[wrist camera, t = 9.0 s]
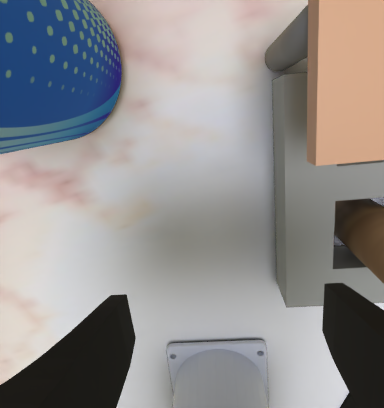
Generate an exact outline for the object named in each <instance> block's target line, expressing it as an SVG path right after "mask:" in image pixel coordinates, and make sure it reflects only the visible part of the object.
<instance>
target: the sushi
mask: <svg viewBox="0 0 384 408" xmlns="http://www.w3.org/2000/svg"><path fill="white" fill-rule="evenodd" d="M340 408H358V407H357V405H356V403H355V401H354V400H353V398H352V396H351V394H350V392H349V394H348V395H347V397H346V399H345V400H344V402H343V404H342V405H341V407H340Z"/></svg>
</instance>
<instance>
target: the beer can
mask: <svg viewBox="0 0 384 408" xmlns="http://www.w3.org/2000/svg"><path fill="white" fill-rule="evenodd" d="M121 78H122V67H121V58H120V53H119V49H118V46H117V42H116V40H115V37H114V35H113V33H112V31H111V29H110V27H109V25H108V23H107V22H106V20H105V19H104V17H103V16H102V15H101V13H100V12H99V11H98V10H97V9H96V7H95V6H94V5H93V4H91V3H90V2H89V1H88V0H0V154H4V153H9V152H14V151H19V150H24V149H29V148H33V147H38V146H43V145H48V144H53V143H58V142H63V141H68V140H73V139H77V138H80V137H82V136H85V135H87V134H89V133H91V132H92V131H94V130H95V129H96V128H98V127H99V126H100V125H101V124H102V123H103V122H104V121H105V120H106V118H107V117H108V116H109V114H110V113H111V111H112V110H113V108H114V106H115V103H116V101H117V98H118V95H119V91H120V86H121Z"/></svg>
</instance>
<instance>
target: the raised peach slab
mask: <svg viewBox="0 0 384 408" xmlns="http://www.w3.org/2000/svg"><path fill="white" fill-rule="evenodd" d="M306 57H308V76H307V162H309V163H311V164H313V165H315V166H321V165H333V164H344V163H355V162H366V161H377V160H384V0H308V5H307V6H306V7H305V8H304V9H303V11H302V12H301V13H300V14H299V15H298V16H297V17H296V18H295V19H294V20H293V22H292V23H291V24H290V25H289V26H288V27H287V28H286V29H285V30H284V31H283V32H282V34H281V35H280V36H279V37H278V38H277V39H276V40H275V41H274V42H273V43H272V44H271V46H270V47H269V48H268V49H267V51H266V54H265V63H266V65H267V67H268V68H269V69H270V70H272V71H275V72H280V71H283V70H285V69H286V68H288V67H290V66H292V65H294V64H295V63H297V62H299V61H301V60H302V59H304V58H306Z"/></svg>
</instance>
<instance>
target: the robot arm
mask: <svg viewBox="0 0 384 408" xmlns="http://www.w3.org/2000/svg"><path fill="white" fill-rule="evenodd" d="M322 331H323V334H324V336H325V339H326V342H327V345H328V347H329V350H330V353H331V355H332V358H333V360H334V362H335V364H336V366H337V368H338V370H339V372H340V374H341V376H342V378H343V380H344V382H345V384H346V386H347V388H348V390H349V392H350V394H351V396H352V398H353V400H354V401H355V403H356V405H357V407H358V408H384V310H382V309H381V308H379V307H378V306H376V305H375V304H374V303H372V302H371V301H369V300H368V299H366V298H365V297H363V296H362V295H360V294H359V293H357V292H356V291H355V290H353V289H352V288H350V287H349V286H347V285H345V284H344V283H327V284H324V306H323V329H322ZM134 344H135V333H134V329H133V324H132V319H131V314H130V309H129V305H128V300H127V295H111V296H109V297H108V298H107V299H106V300H105V301H104V302H102V303H101V304H100V305H99V306H98V307H97V308H96V309H95V310H94V311H93V312H92V313H91V314H89V315H88V316H87V317H86V318H85V319H84V320H83V321H82V322H81V323H80V324H78V325H77V326H76V327H75V328H74V329H73V330H72V331H71V332H70V333H68V334H67V335H66V336H65V337H64V338H62V339H61V340H60V341H59V342H58V343H57V344H55V345H54V346H53V347H52V348H51V349H49V350H48V351H47V352H46V353H45V354H43V355H42V356H41V357H39V358H38V359H37V360H35V361H34V362H33V363H32V364H30V365H29V366H27V367H26V368H25V369H23V370H22V371H20V372H19V373H18V374H16V375H15V376H13V377H12V378H11V379H9V380H8V381H6V382H5V383H3V384H1V385H0V408H116V407H117V404H118V401H119V398H120V395H121V392H122V389H123V386H124V383H125V380H126V377H127V373H128V370H129V367H130V363H131V359H132V354H133V349H134ZM258 351H262V352H258ZM166 353H167V359H168V365H169V371H170V377H171V384H172V390H173V396H174V399H173V407H172V408H269V399H268V372H267V347H266V343H265V342H264V341H262V340H244V341H219V342H194V343H172V344H169V345H168V346H167V349H166ZM172 354H175V355H172Z"/></svg>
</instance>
